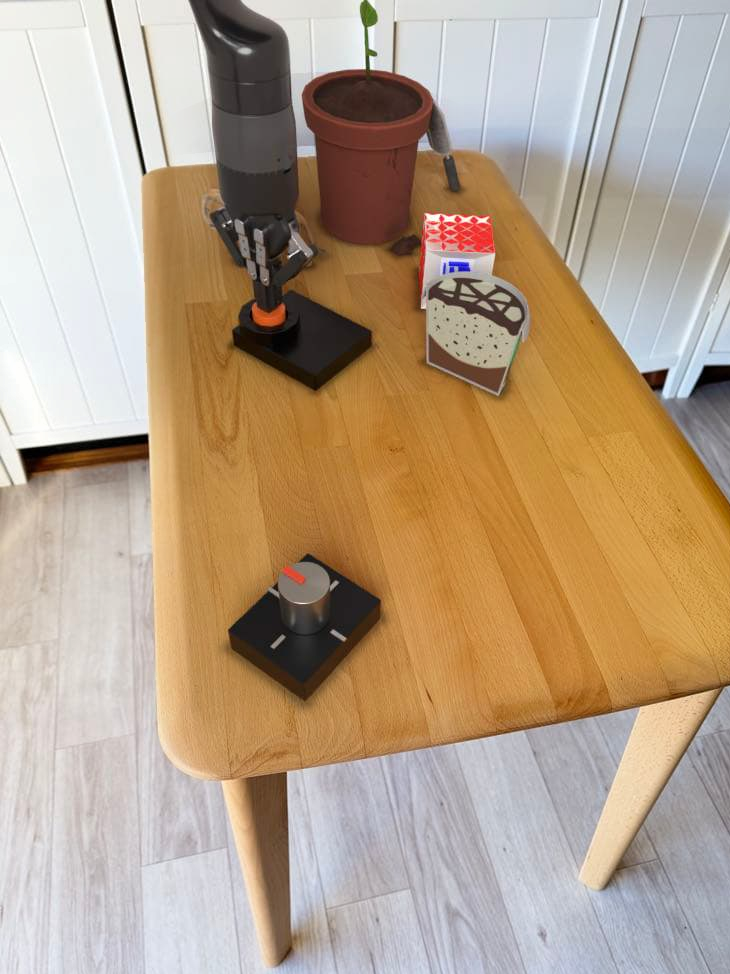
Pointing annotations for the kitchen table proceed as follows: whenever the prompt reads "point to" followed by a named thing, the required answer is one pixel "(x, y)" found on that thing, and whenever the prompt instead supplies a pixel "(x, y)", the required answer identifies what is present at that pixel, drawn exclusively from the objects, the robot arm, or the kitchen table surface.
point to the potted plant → (372, 147)
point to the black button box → (303, 340)
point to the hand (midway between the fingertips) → (269, 307)
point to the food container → (474, 327)
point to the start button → (268, 316)
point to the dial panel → (305, 656)
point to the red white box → (454, 246)
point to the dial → (304, 597)
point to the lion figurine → (214, 202)
